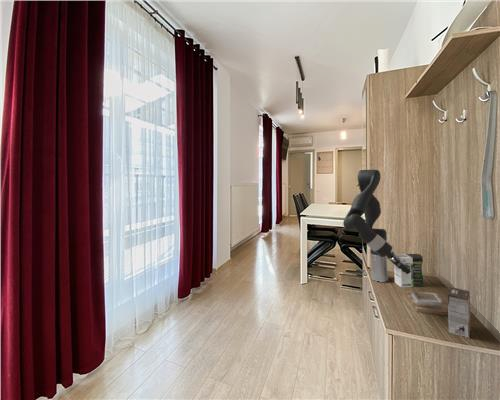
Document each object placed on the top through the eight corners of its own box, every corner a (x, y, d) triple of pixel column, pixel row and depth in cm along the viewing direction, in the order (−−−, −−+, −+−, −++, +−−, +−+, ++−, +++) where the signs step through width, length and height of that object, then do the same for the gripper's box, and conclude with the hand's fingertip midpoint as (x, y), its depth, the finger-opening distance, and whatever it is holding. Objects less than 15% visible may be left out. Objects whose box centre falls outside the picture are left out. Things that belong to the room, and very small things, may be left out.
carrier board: (406, 293, 131) (406, 290, 131) (436, 296, 126) (436, 293, 126) (416, 311, 113) (416, 308, 113) (453, 315, 107) (452, 312, 107)
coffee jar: (407, 286, 140) (406, 256, 139) (401, 281, 147) (400, 252, 146) (426, 287, 138) (425, 255, 137) (419, 281, 145) (418, 252, 145)
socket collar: (411, 296, 124) (411, 291, 124) (434, 298, 121) (434, 293, 120) (417, 305, 115) (417, 299, 115) (442, 308, 111) (442, 302, 111)
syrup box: (401, 287, 111) (400, 257, 111) (394, 282, 117) (393, 254, 116) (413, 287, 111) (413, 257, 110) (406, 282, 117) (405, 253, 116)
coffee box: (450, 322, 103) (449, 286, 102) (470, 328, 98) (470, 290, 97) (448, 332, 96) (447, 294, 95) (469, 339, 92) (468, 298, 91)
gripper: (387, 243, 109) (418, 270, 105) (382, 237, 123) (409, 260, 119) (374, 254, 112) (404, 280, 108) (371, 246, 125) (397, 269, 121)
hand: (407, 270), depth 113 cm, fingers closed on syrup box, 7 cm apart
